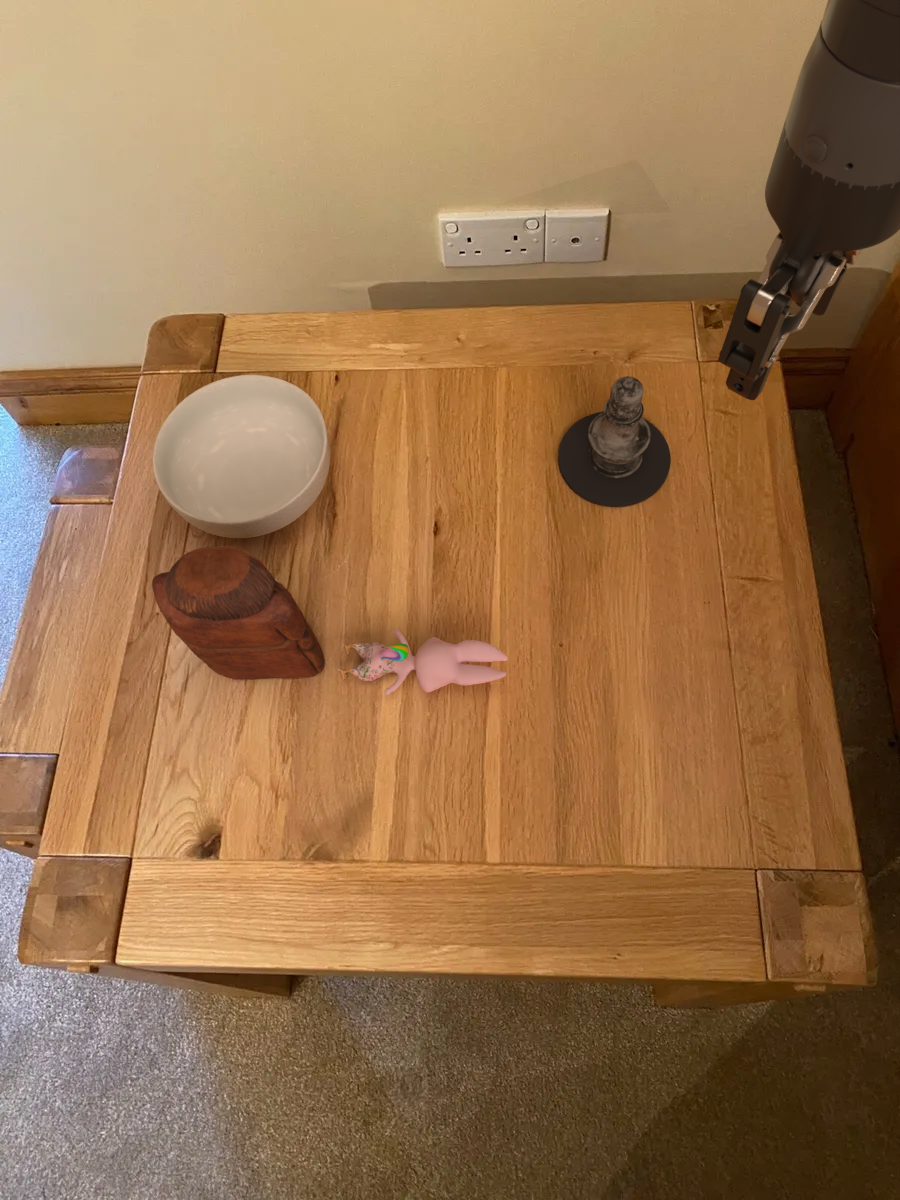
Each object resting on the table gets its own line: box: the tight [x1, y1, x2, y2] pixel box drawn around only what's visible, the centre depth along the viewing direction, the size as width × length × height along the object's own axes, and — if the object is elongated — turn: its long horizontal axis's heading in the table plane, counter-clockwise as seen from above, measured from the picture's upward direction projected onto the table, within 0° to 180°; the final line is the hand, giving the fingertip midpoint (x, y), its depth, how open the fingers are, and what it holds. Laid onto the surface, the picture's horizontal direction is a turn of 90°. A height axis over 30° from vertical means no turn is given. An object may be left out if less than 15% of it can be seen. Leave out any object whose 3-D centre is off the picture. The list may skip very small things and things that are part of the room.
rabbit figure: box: [337, 628, 509, 696], centre depth 78 cm, size 6×6×15 cm
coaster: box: [557, 410, 672, 508], centre depth 88 cm, size 11×11×1 cm
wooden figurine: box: [151, 545, 326, 681], centre depth 74 cm, size 12×6×18 cm, turn 89°
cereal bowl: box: [152, 374, 332, 539], centre depth 86 cm, size 17×17×7 cm
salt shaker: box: [588, 375, 650, 478], centre depth 82 cm, size 6×6×12 cm
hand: (777, 348), depth 58 cm, fingers open, 8 cm apart
